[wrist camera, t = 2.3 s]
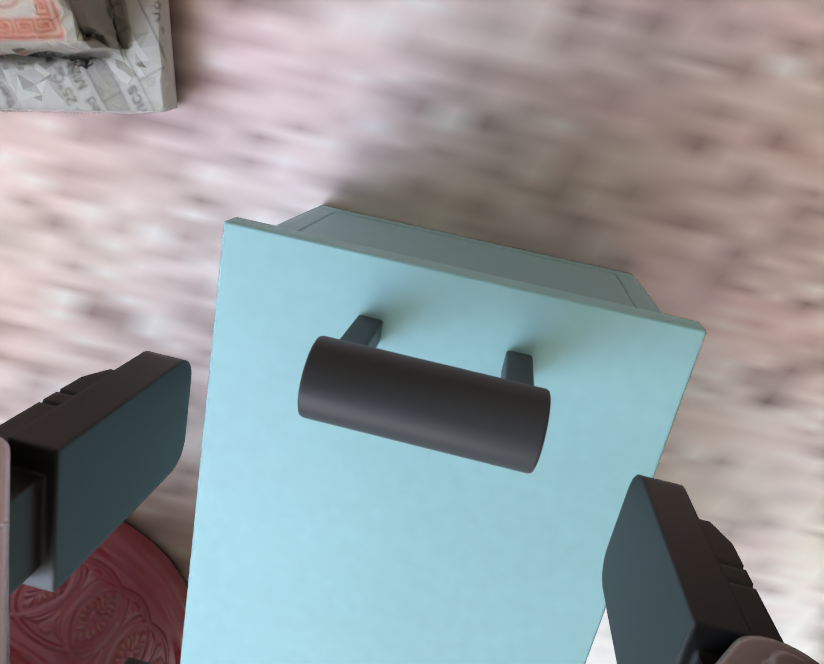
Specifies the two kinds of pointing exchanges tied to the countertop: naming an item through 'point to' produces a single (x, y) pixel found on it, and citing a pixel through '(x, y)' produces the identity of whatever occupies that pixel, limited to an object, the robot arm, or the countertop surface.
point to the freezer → (474, 255)
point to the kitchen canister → (104, 609)
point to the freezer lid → (414, 457)
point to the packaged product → (86, 56)
